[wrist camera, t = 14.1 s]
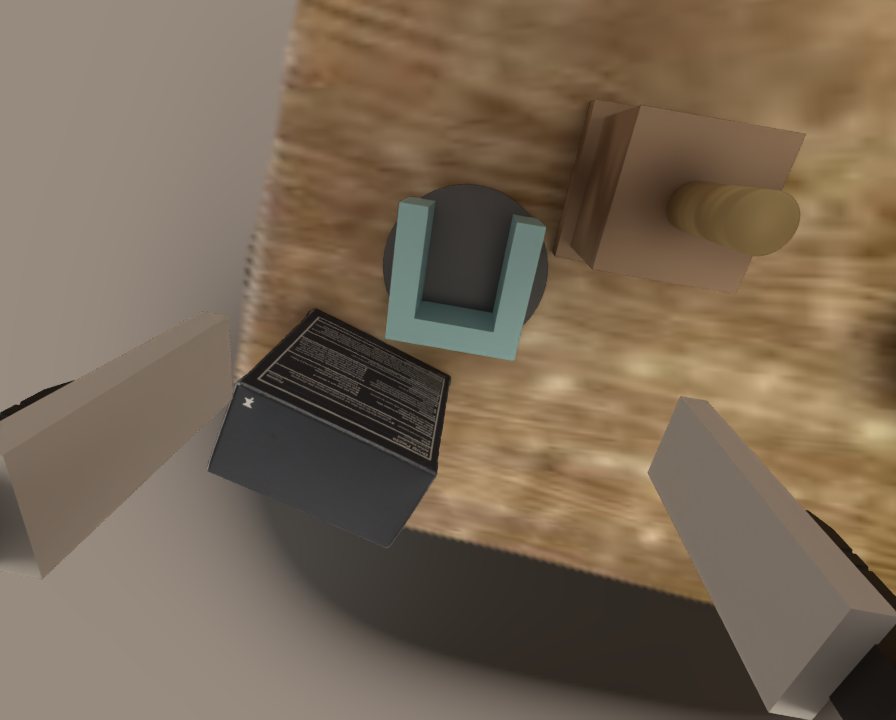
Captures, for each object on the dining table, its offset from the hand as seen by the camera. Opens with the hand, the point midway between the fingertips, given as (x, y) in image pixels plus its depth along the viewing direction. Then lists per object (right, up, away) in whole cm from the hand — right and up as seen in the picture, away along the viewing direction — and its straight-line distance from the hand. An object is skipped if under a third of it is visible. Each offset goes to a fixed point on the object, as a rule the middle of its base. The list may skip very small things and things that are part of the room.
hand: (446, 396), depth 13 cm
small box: (-6, 0, +19) cm, 19 cm away
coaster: (+1, +7, +15) cm, 16 cm away
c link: (+1, +6, +14) cm, 16 cm away
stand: (+11, +10, +12) cm, 19 cm away
